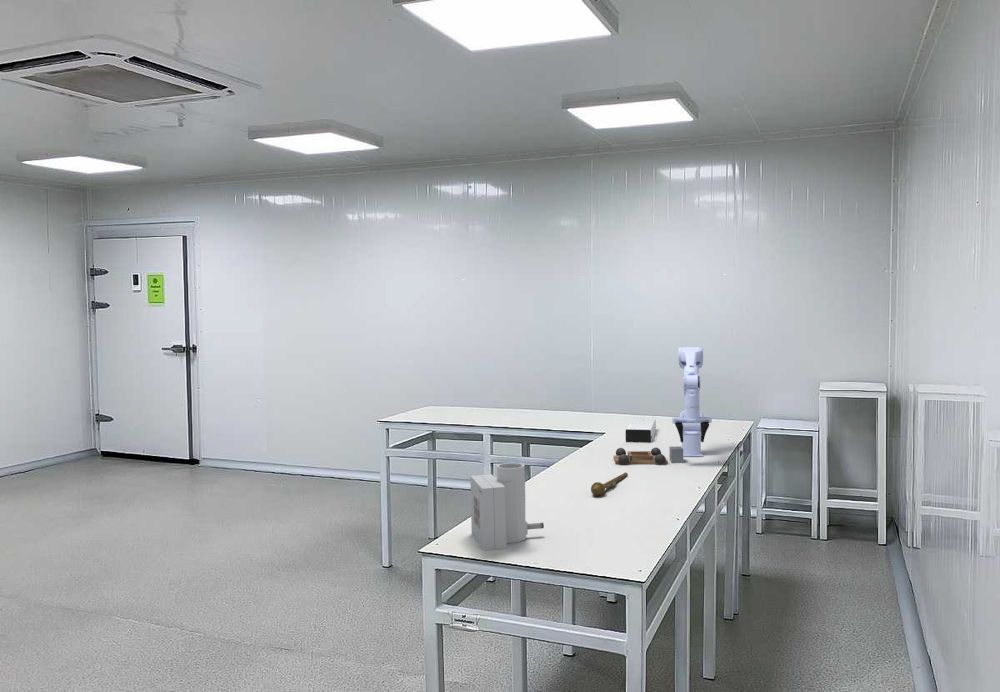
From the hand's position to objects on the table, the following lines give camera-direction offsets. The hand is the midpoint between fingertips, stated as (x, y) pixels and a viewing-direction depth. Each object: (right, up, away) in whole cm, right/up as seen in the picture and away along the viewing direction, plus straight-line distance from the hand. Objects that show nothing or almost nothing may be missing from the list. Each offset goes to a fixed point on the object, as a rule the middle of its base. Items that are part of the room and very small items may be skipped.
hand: (692, 441), depth 311 cm
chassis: (-18, -9, +11) cm, 23 cm away
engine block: (-4, -9, +9) cm, 14 cm away
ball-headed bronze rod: (-35, -12, -30) cm, 48 cm away
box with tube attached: (-70, -16, -90) cm, 115 cm away
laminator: (-7, -6, +70) cm, 70 cm away
